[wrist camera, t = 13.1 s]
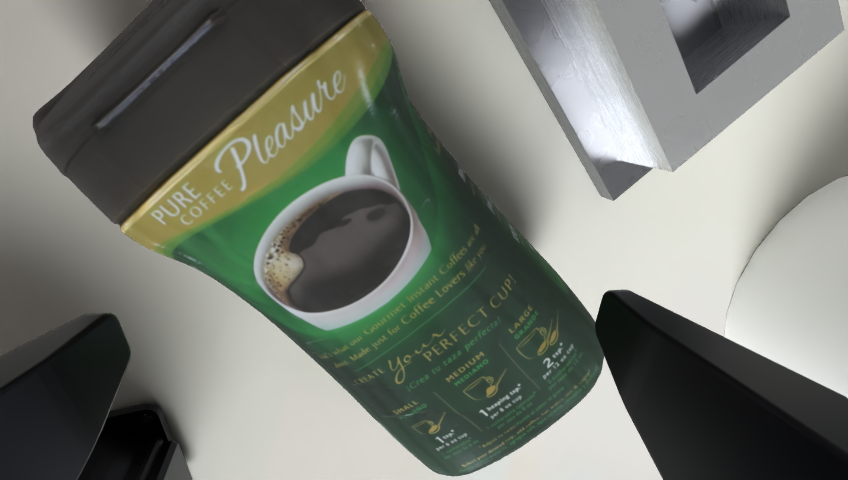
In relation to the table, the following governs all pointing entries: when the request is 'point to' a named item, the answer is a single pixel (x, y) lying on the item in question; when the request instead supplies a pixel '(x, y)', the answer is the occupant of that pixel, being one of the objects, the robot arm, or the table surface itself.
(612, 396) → the table surface
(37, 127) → the coffee jar
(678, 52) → the socket stand
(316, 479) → the table surface
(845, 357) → the stepped white column
